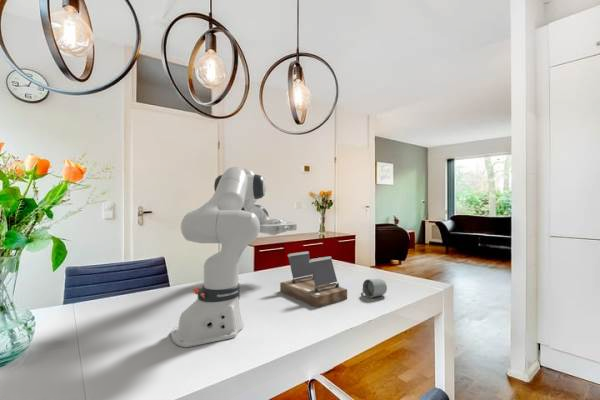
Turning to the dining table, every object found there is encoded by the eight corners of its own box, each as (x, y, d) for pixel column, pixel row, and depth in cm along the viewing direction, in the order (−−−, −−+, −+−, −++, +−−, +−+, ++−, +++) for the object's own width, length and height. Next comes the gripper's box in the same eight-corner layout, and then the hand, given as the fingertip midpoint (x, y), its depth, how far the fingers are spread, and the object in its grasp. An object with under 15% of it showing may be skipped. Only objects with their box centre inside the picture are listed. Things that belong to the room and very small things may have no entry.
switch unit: (316, 307, 118) (316, 292, 118) (280, 291, 139) (280, 278, 139) (347, 298, 128) (347, 284, 128) (309, 284, 149) (309, 272, 149)
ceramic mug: (388, 296, 131) (388, 278, 131) (374, 299, 126) (374, 281, 127) (371, 290, 140) (370, 274, 140) (357, 293, 136) (357, 276, 136)
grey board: (295, 277, 137) (290, 253, 140) (292, 278, 138) (287, 254, 142) (314, 274, 143) (308, 251, 147) (311, 274, 145) (305, 252, 148)
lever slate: (318, 285, 124) (311, 259, 127) (315, 286, 126) (308, 260, 129) (337, 281, 131) (330, 256, 134) (334, 282, 132) (327, 257, 136)
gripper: (255, 222, 157) (269, 223, 145) (287, 220, 169) (302, 221, 158) (255, 234, 157) (269, 236, 146) (287, 231, 169) (302, 233, 158)
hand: (286, 228), depth 152 cm, fingers closed
